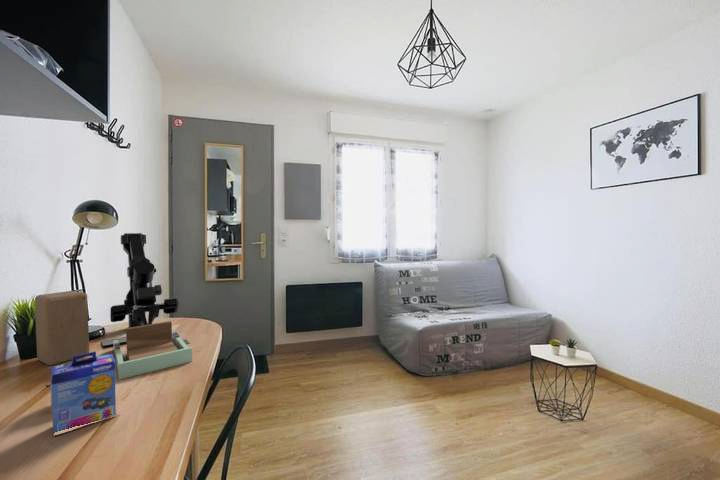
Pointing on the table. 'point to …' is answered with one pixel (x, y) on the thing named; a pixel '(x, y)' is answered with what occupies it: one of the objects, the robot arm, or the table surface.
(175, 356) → the pale green tray
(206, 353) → the table surface
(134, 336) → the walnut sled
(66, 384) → the ink cartridge box
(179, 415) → the table surface
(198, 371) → the table surface
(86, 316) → the wooden block
